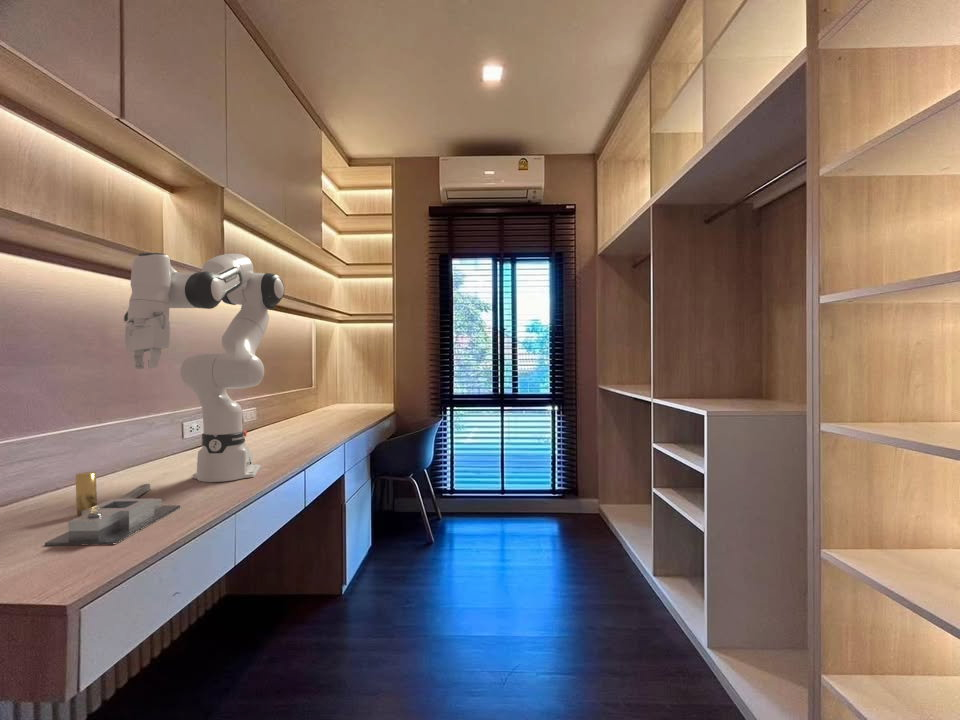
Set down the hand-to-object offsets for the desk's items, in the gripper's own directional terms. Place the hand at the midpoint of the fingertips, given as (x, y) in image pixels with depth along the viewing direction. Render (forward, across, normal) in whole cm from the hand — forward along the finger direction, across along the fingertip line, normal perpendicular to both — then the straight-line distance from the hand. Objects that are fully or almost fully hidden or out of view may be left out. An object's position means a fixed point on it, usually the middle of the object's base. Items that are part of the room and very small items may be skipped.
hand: (145, 368), depth 136 cm
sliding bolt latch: (+37, -8, +6) cm, 38 cm away
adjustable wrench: (+34, +11, -3) cm, 36 cm away
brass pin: (+36, +6, +9) cm, 37 cm away
